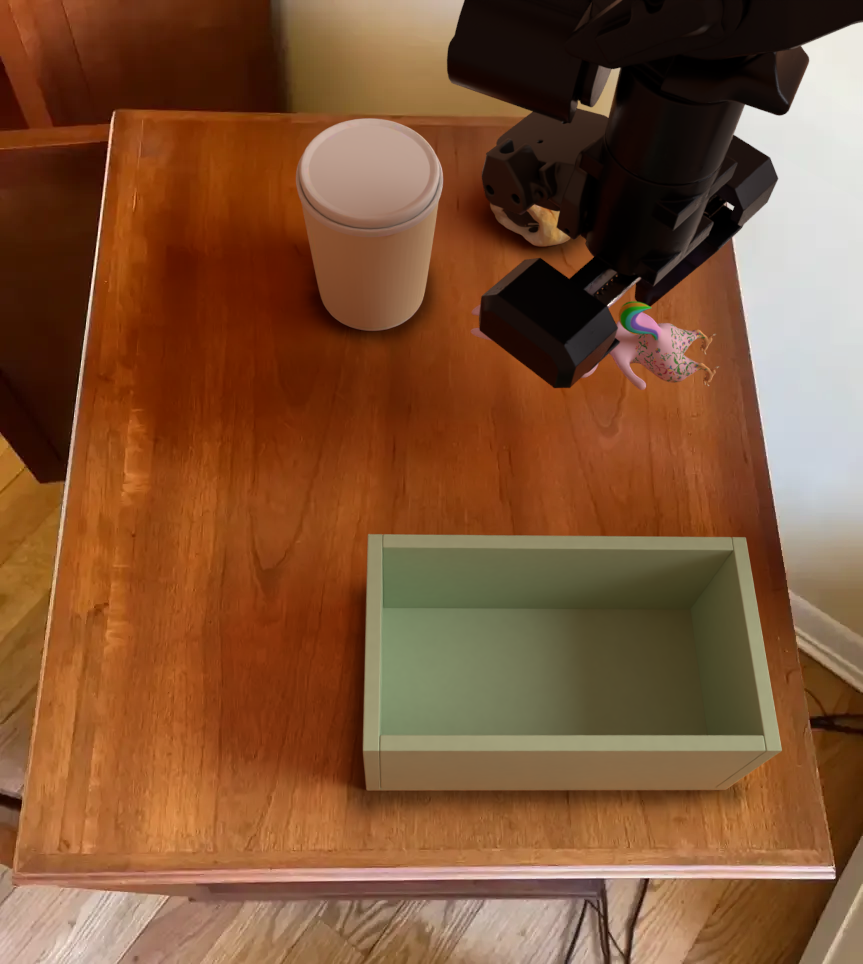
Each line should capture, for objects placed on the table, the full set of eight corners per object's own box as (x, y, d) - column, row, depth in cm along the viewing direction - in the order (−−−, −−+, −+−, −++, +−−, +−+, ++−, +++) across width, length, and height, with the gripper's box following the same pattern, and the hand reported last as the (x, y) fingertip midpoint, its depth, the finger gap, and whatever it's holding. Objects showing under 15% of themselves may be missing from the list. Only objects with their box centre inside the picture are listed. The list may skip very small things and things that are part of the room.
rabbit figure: (692, 339, 65) (466, 297, 63) (735, 281, 60) (491, 232, 58) (699, 421, 62) (462, 380, 60) (745, 366, 57) (488, 320, 55)
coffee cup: (434, 240, 77) (441, 114, 66) (438, 341, 72) (446, 223, 62) (310, 239, 76) (297, 113, 66) (306, 341, 72) (292, 223, 61)
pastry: (556, 152, 82) (564, 114, 78) (624, 196, 80) (635, 159, 76) (481, 216, 78) (486, 180, 75) (550, 264, 76) (558, 229, 73)
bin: (699, 600, 64) (746, 536, 55) (725, 790, 58) (782, 751, 50) (370, 598, 63) (367, 533, 55) (366, 790, 57) (362, 750, 49)
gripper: (649, -28, 54) (597, 187, 67) (404, 153, 47) (401, 351, 61) (828, 77, 50) (734, 280, 64) (591, 289, 43) (543, 466, 57)
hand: (604, 338), depth 61 cm, fingers closed on rabbit figure, 7 cm apart
